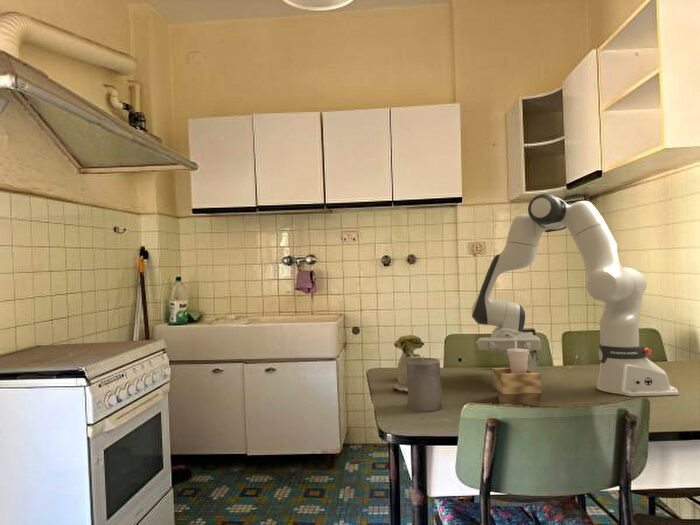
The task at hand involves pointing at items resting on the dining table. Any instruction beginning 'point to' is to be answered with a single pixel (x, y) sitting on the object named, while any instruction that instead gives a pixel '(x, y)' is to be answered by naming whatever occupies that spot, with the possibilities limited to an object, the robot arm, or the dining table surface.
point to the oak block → (516, 381)
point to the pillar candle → (424, 384)
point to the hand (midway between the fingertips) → (511, 347)
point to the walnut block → (519, 399)
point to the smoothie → (518, 359)
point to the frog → (405, 357)
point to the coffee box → (531, 352)
